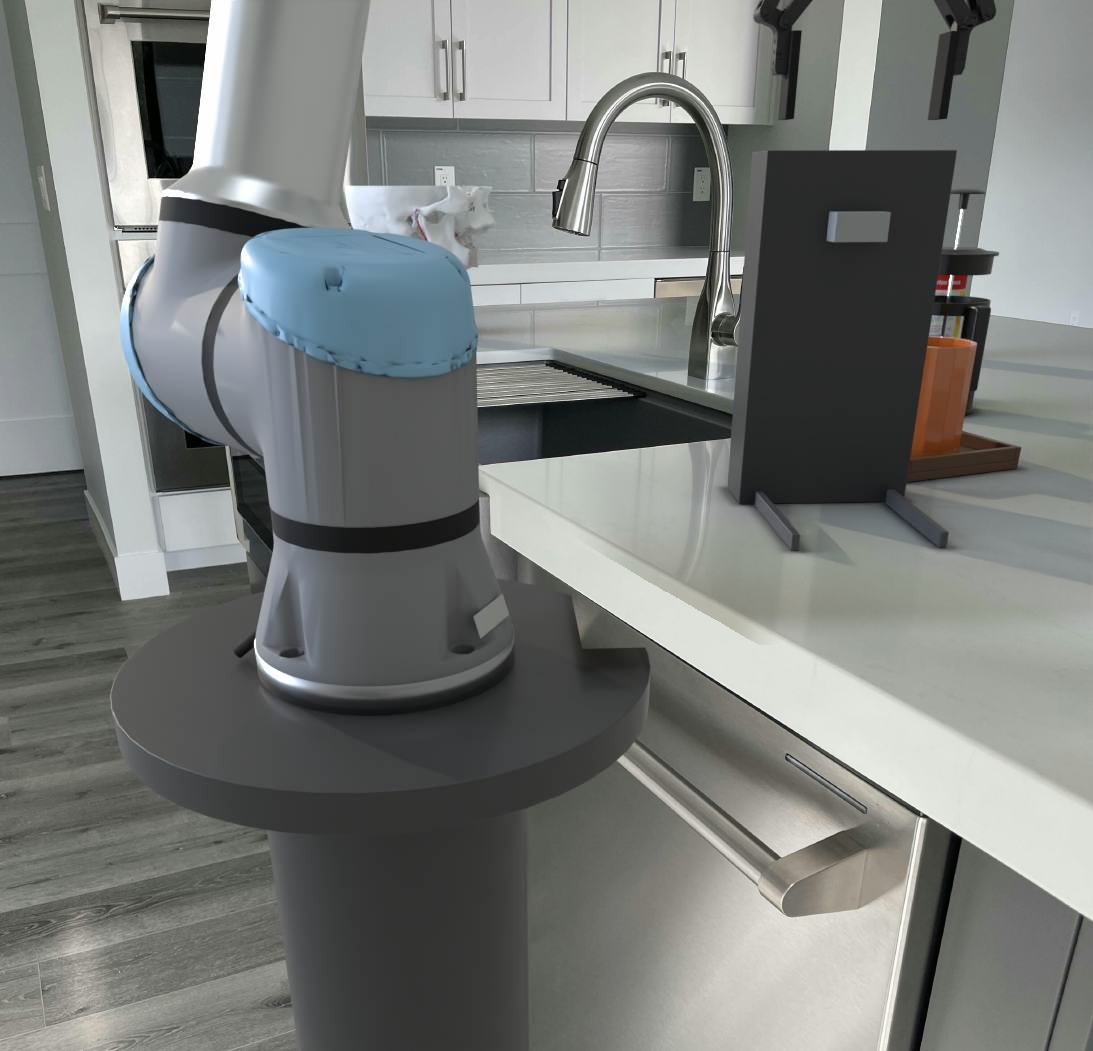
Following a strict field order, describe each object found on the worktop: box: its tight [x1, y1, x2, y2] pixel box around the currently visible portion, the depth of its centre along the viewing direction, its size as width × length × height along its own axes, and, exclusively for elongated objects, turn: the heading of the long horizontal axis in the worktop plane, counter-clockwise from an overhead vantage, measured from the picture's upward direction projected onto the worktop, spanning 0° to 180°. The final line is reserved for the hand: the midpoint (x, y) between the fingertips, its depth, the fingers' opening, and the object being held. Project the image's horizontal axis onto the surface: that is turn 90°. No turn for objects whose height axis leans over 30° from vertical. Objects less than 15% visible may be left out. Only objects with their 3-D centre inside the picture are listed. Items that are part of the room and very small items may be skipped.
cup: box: [910, 336, 977, 458], centre depth 101 cm, size 8×8×10 cm
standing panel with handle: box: [726, 149, 958, 551], centre depth 81 cm, size 14×18×26 cm
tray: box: [907, 430, 1022, 483], centre depth 103 cm, size 13×13×2 cm
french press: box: [932, 188, 1000, 416], centre depth 120 cm, size 12×9×23 cm
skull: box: [345, 185, 498, 270], centre depth 181 cm, size 25×19×23 cm
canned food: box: [929, 275, 968, 338], centre depth 159 cm, size 8×8×12 cm
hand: (861, 120), depth 95 cm, fingers open, 13 cm apart
